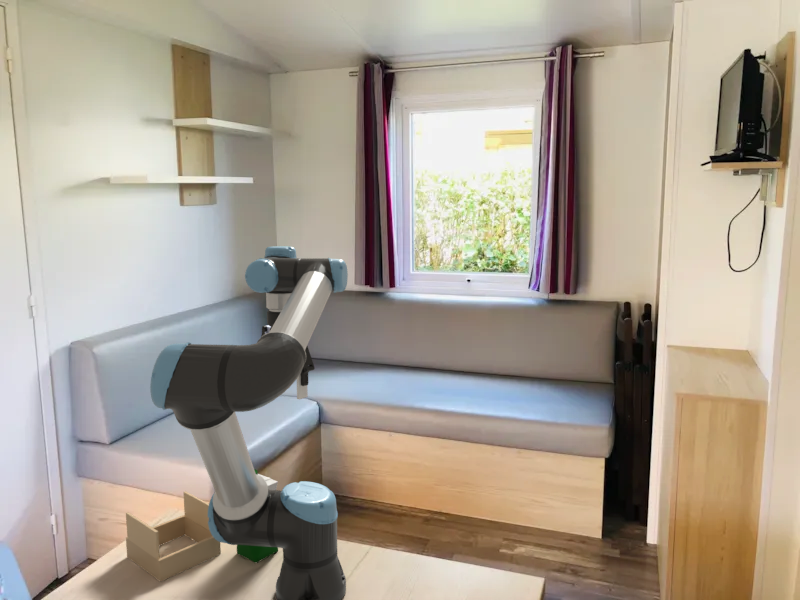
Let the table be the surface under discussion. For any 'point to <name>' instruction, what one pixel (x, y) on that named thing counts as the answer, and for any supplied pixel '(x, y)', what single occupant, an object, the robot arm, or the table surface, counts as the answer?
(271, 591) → the table surface
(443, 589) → the table surface
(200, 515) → the wooden tray box
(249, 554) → the soya milk
